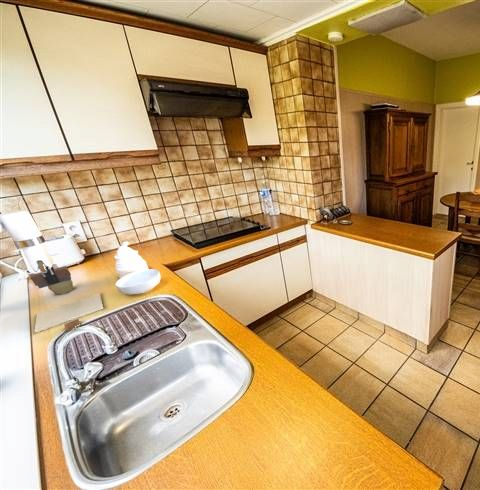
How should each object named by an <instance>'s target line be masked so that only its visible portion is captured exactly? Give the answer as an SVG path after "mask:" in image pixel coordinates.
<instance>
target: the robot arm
mask: <svg viewBox="0 0 480 490" xmlns="http://www.w3.org/2000/svg"><path fill="white" fill-rule="evenodd" d="M4 232H7V234H8V235H9V238H11V240H12V241H13V243H14V245H15V246H16V248H17V249H18V250H21V251H22V252H23V254H24V256H25V258H26V260H27V262H28V264H29V266H30V267H31V269H32V271H33V272H35V273H38V271H40V273H42V274H43V276H44V278H45V280H46V281H47V283H48V285H52V284H55V283H59V282H60V281H59V279H58V277H57V276H56V274H54V273H53V271H52V270H53V269H54V268H53V266H52V264H54V261H53V259H52V256H51V255H50V253H49V252H48V249H47V248H46V246H45V244H47V240H46V239H45V237H44V236H43V233H42V231H41V230H40V228H39V226H38V225H37V223H36V221H35V219H34V218H33V217H32V214H31V213H30V212H29V211H27V210H14V211H9V212H4V213H0V234H1V233H4Z"/></svg>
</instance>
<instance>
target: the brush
mask: <svg viewBox="0 0 480 490" xmlns="http://www.w3.org/2000/svg"><path fill="white" fill-rule="evenodd" d="M52 271H53V273H54V274H56V276H57V277H58V279H59V281H60V282H59V283H61V282H64V281H68V280H71V281H72V273H71V272H70V270H69V268H68V267H67V265H65V266H61V267H58V268H56V269H53V270H52ZM30 280H31V281H32V283H33V285H34V286H35V287H38V289H42V288H46V287H47V288H48V286H50V285H48V283H47V281H46V280H45V278H44V276H43V274H42V273H41V272H36V273H33V274H31V275H30ZM55 284H57V283H55ZM52 285H54V284H52Z"/></svg>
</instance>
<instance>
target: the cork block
mask: <svg viewBox="0 0 480 490" xmlns="http://www.w3.org/2000/svg"><path fill="white" fill-rule="evenodd" d="M63 324H64V330H65V331H66V332H67V333H69V332H72V331H73V330H72V329H73V328H75V326H76V327H78V326H77V325H79V324H80V325H81V326H82V323H81V321H80V318H76V319H73V320H70V321H68V322H65V323H63ZM80 325H79V326H80ZM71 330H72V331H71Z"/></svg>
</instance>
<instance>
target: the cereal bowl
mask: <svg viewBox="0 0 480 490" xmlns="http://www.w3.org/2000/svg"><path fill="white" fill-rule="evenodd" d="M161 279H162V275H161V273H160V271H159V270H158V269H155V268H149V269H147V270H141V271H137V272H134V273H131V274H129V275H127V276H124V277H123V278H121V279H120V278H119V279H118V280H117V281H116V282H115V287H116V289H117V290H118V291H119V293H121V294H124V295H130V296H131V295H141V294H145V293H147V292H150V291H152V290H153V289H154V288H155V287H156V286H157V285H159V283H160V282H161Z"/></svg>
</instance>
